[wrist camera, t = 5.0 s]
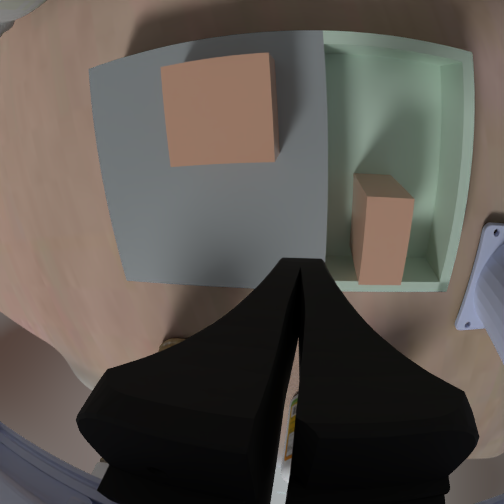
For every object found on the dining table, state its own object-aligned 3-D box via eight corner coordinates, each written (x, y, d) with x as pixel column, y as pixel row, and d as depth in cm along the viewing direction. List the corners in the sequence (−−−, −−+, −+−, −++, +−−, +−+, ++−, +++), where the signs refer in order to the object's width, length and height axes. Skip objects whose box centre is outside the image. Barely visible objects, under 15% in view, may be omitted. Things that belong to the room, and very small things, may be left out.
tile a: (353, 173, 15) (390, 175, 14) (349, 244, 17) (383, 245, 16) (367, 196, 11) (414, 199, 11) (358, 284, 13) (400, 285, 13)
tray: (446, 58, 11) (472, 52, 8) (430, 263, 17) (446, 291, 14) (319, 43, 12) (322, 30, 10) (322, 261, 18) (323, 290, 15)
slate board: (319, 43, 12) (322, 30, 10) (322, 261, 18) (323, 290, 15) (120, 70, 14) (88, 68, 12) (148, 256, 20) (126, 280, 17)
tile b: (274, 60, 11) (268, 52, 9) (279, 153, 12) (274, 162, 11) (180, 70, 11) (160, 67, 10) (188, 157, 13) (170, 167, 11)
